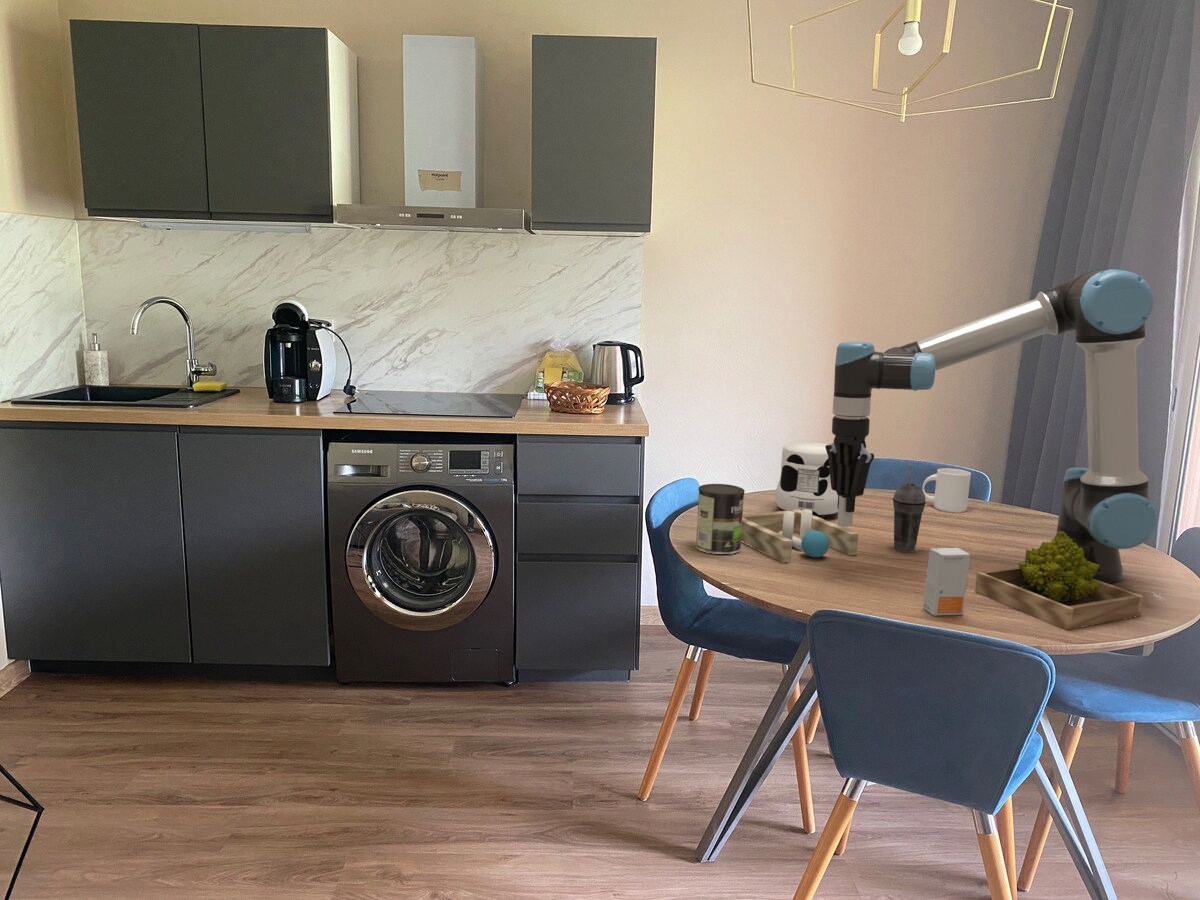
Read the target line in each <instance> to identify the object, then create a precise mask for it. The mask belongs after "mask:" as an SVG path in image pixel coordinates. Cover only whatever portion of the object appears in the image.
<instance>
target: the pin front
mask: <svg viewBox="0 0 1200 900" xmlns="http://www.w3.org/2000/svg"><path fill="white" fill-rule="evenodd" d="M778 534H779V535H782V531H780V532H779V533H778ZM799 538H800V537H797V536H795V535H793V539H792V548H794V549H796V550H798V551H800V552H803V551H802V550H803V549H802V546H801V541H802V540H801V539H799Z"/></svg>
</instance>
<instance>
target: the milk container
mask: <svg viewBox="0 0 1200 900" xmlns="http://www.w3.org/2000/svg"><path fill="white" fill-rule="evenodd" d="M826 445H831V444H829V443H823V442H822V443H821V442H812V441H811V442H810V441H793V442H787V443H785V444H783V446H782V452H781V462H780V463H781V464H780V465H781V466H780V476H779V477H780V478H779V481H778V482H777V483H778V484H777V486H776V489H775V502H776V505H777V507H778V508H779V510H780V511H787V510H798V509H799V510H804V509H807V510H812V515H814V516H817V517H819V518H827V517H832V516H835V515H836V514H838V510H839V509H838V495H837V492H836V491H835V490H832V489H831V480H830V470H829V460H828V454H827V451H826V448H825V447H826Z"/></svg>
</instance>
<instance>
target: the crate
mask: <svg viewBox="0 0 1200 900" xmlns="http://www.w3.org/2000/svg"><path fill="white" fill-rule="evenodd" d="M1024 578H1025V577H1024V576H1023V572H1022V571H1021V569H1020V567H1019V566H1015V567H1013V566H1012V567H1007V568H999V569H994V570H993V569H991V570H987V571H979V572H978V571H977V572H976V581H975V586H974V592H975V591H976V592H975V593H977V592H978V593H977V594H980V595H983V596H984V597H987V598H989V599H992V600H995V601H996V602H999V603H1001V602H1002V603H1001V604H1004V605H1007V606H1009V607H1010V608H1013V609H1016V610H1018V611H1020V612H1023V613H1024V614H1028V615H1030V616H1032V617H1035V618H1037V619H1040V620H1042V621H1043V622H1047V623H1048V624H1051V623H1052V625H1053V624H1054V626H1056V625H1057V626H1056V627H1058V626H1059V627H1058V628H1061V627H1062V628H1061V629H1063V628H1064V630H1065V629H1070V630H1073V629H1072V628H1075V629H1077V628H1076V627H1080V628H1083V627H1082V626H1086V627H1090V626H1089V625H1091V626H1095V625H1094V624H1097V625H1101V624H1100V623H1102V624H1106V623H1105V622H1107V623H1111V622H1110V621H1113V622H1116V621H1115V620H1118V621H1120V620H1119V619H1123V620H1125V619H1124V618H1129V619H1131V618H1130V617H1134V618H1136V617H1135V616H1140V617H1141V615H1142V611H1143V610H1142V609H1143V604H1144V595H1141V594H1138V593H1135V592H1133V591H1130V590H1127V589H1123V588H1121V587H1118V586H1115V585H1113V584H1111V583H1104V582H1102V581H1099V580H1096V579H1092V580H1093V581H1096V582H1098V583H1101V585H1100V586H1099V587H1098V588H1097V589H1096V590H1095V591H1094V592H1092V594H1088V597H1086V598H1085V599H1088V598H1089V599H1088V600H1090V599H1091V600H1090V601H1092V602H1088V603H1087V602H1086V603H1081V604H1075V605H1070V606H1069V605H1066V604H1063V603H1061V602H1060V601H1057V602H1056V601H1054V600H1052V599H1048V598H1046V597H1043V596H1041V595H1038V594H1036V593H1033V592H1031V591H1028V590H1025V589H1023V588H1022V587H1023V584H1025V583H1024V582H1023V580H1024ZM1093 600H1094V601H1093Z"/></svg>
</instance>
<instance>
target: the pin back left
mask: <svg viewBox="0 0 1200 900" xmlns="http://www.w3.org/2000/svg"><path fill="white" fill-rule="evenodd" d="M793 526H794V512H792V511H784V516H783V529H782V536H784V537H786V538H788V539H790V540H792V539H793V536H794V535H793V534H794V532H793Z"/></svg>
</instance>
